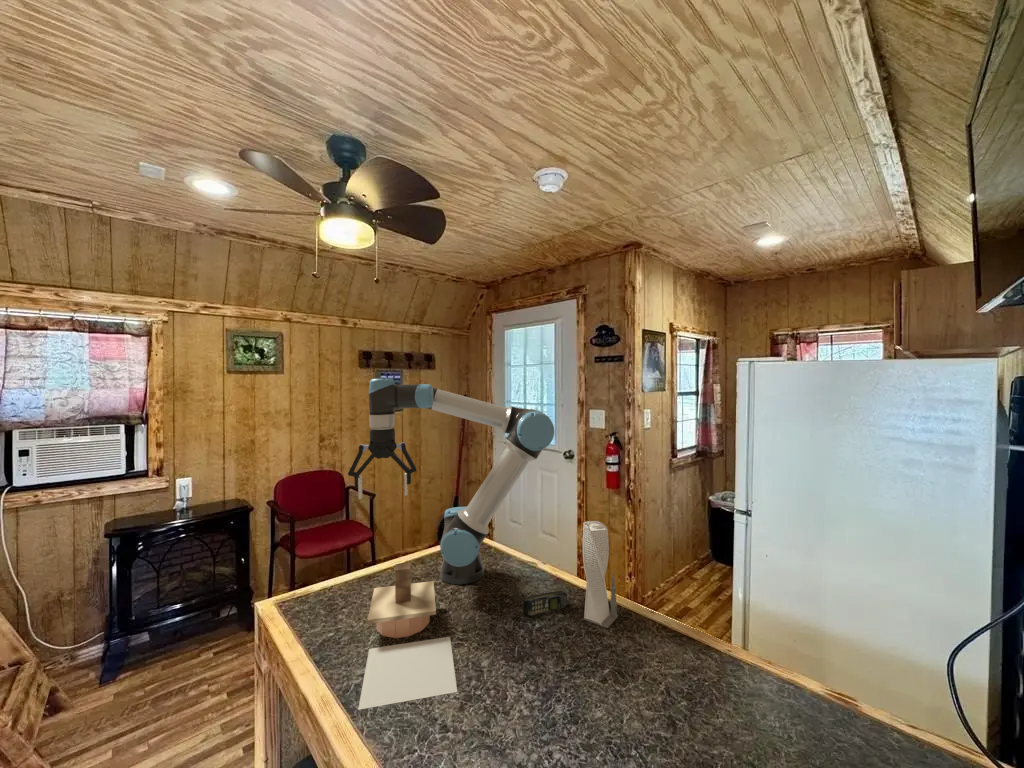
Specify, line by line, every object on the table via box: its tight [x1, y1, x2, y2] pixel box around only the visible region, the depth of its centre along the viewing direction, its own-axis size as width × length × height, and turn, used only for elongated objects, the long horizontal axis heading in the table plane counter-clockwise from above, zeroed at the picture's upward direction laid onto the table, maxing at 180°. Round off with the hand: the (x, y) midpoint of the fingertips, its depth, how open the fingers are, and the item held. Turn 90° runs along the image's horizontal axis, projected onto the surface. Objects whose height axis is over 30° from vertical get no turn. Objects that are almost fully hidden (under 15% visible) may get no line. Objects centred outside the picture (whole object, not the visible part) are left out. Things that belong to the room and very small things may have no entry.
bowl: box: [375, 615, 431, 639], centre depth 115 cm, size 14×14×6 cm
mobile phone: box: [522, 590, 571, 617], centre depth 121 cm, size 5×3×15 cm
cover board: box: [367, 562, 437, 625], centre depth 115 cm, size 17×17×10 cm
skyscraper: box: [582, 520, 619, 629], centre depth 116 cm, size 8×8×28 cm
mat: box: [358, 636, 458, 711], centre depth 96 cm, size 20×20×1 cm
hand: (383, 496), depth 129 cm, fingers open, 13 cm apart
